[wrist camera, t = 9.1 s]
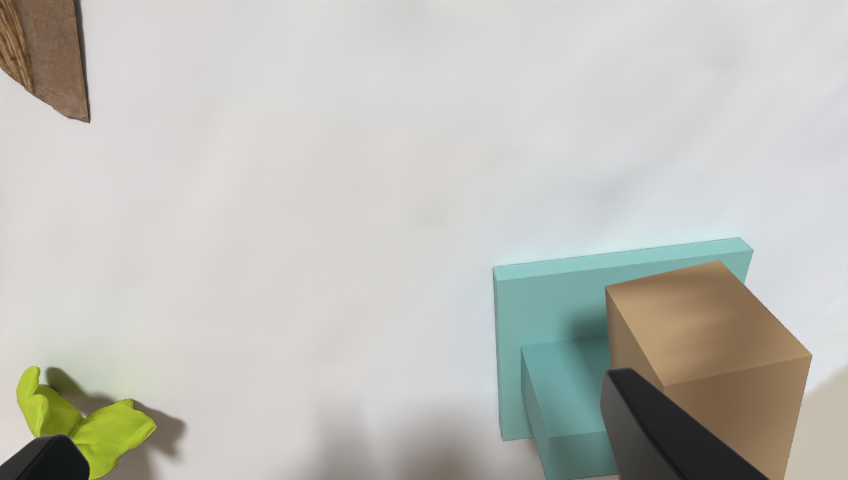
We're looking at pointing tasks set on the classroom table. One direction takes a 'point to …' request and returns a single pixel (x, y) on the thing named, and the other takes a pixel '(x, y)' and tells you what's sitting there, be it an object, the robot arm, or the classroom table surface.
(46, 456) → the robot arm
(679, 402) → the walnut bar
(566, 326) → the fulcrum block
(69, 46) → the wooden fragment
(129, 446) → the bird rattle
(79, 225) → the classroom table surface
